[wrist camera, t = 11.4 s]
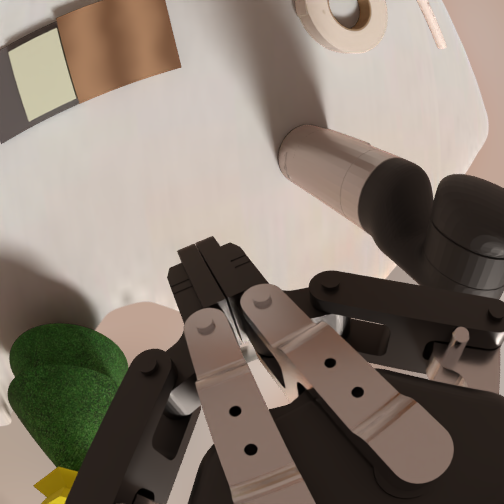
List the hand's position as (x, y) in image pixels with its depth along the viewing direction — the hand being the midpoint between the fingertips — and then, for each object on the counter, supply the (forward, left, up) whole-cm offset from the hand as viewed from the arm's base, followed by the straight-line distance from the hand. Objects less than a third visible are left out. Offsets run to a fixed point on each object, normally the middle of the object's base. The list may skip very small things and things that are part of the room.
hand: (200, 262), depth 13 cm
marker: (-53, -13, -30) cm, 62 cm away
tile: (+8, -12, -28) cm, 32 cm away
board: (-1, -12, -29) cm, 31 cm away
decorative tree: (+23, +25, -29) cm, 45 cm away
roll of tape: (-32, -12, -30) cm, 45 cm away
